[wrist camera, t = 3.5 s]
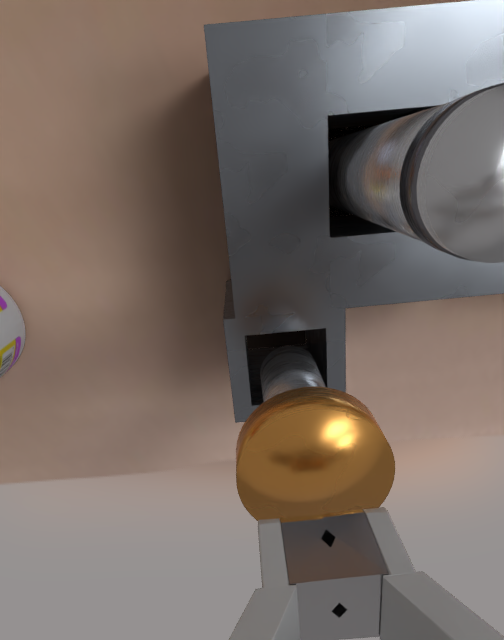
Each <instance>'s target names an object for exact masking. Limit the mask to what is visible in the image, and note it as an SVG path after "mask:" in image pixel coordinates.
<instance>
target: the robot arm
mask: <svg viewBox="0 0 504 640" xmlns="http://www.w3.org/2000/svg"><path fill="white" fill-rule="evenodd" d="M258 534H259V548H260V562H261V575H262V588H260V589H256V590H255V591H254V593H253V595H252V597H251V599H250V601H249V603H248V605H247V607H246V608H245V610H244V612H243V614H242V616H241V618H240V620H239V622H238V623H237V625H236V627H235V629H234V631H233V633H232V635H231V637H230V638H229V640H339V639H352V638H365V637H378V636H380V639H381V640H504V636H503V635H501V634H500V633H499V632H498V631H496V630H495V629H494V628H493V627H491V626H490V625H489V624H488V623H486V622H485V621H484V620H483V619H481V618H480V617H479V616H478V615H476V614H475V613H474V612H473V611H471V610H470V609H469V608H468V607H466V606H465V605H464V604H463V603H461V602H460V601H459V600H458V599H456V598H455V597H454V596H453V595H452V594H450V593H449V592H448V591H447V590H445V589H444V588H443V587H442V586H440V585H439V584H438V583H437V582H435V581H434V580H433V579H432V578H430V577H429V576H428V575H427V574H425V573H424V572H416V571H415V569H414V567H413V564H412V562H411V560H410V558H409V556H408V554H407V552H406V549H405V547H404V545H403V543H402V541H401V539H400V537H399V534H398V533H397V530H396V528H395V526H394V524H393V522H392V520H391V517H390V515H389V513H388V511H387V510H386V509H385V508H384V507H381V508H372V509H363V510H352V511H343V512H335V513H326V514H321V515H310V516H297V517H284V518H280V519H279V518H275V519H263V520H258Z"/></svg>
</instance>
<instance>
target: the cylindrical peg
mask: <svg viewBox="0 0 504 640" xmlns="http://www.w3.org/2000/svg"><path fill="white" fill-rule="evenodd" d="M328 168H329V206H332V207H334V208H337V209H339V210H342V211H344V212H347V213H350V214H352V215H355V216H357V217H360V218H363V219H365V220H368V221H370V222H373V223H376V224H378V225H381V226H383V227H386V228H389V229H391V230H394V231H396V232H399V233H401V234H404V235H407V236H409V237H412V238H414V239H417V240H420V241H422V242H425V243H426V244H428V245H429V246H431V247H432V248H435V249H437V250H440V251H442V252H444V253H447V254H450V255H452V256H455V257H457V258H460V259H464V260H469V261H476V262H483V263H501V262H504V83H500V84H496V85H493V86H490V87H487V88H483V89H480V90H477V91H474V92H471V93H468V94H465V95H463V96H461V97H458V98H456V99H454V100H452V101H451V102H448V103H445V104H442V105H439V106H436V107H433V108H430V109H426V110H423V111H420V112H417V113H414V114H411V115H408V116H404V117H401V118H398V119H395V120H392V121H389V122H385V123H382V124H379V125H376V126H373V127H370V128H367V129H363V130H360V131H357V132H354V133H351V134H348V135H345V136H341V137H338V138H335V139H333V140H331V141H329V142H328Z"/></svg>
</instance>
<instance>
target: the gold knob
mask: <svg viewBox="0 0 504 640" xmlns="http://www.w3.org/2000/svg"><path fill="white" fill-rule="evenodd" d="M260 377H261V385H262V394H263V403H262V404H261V405H260V406H259V407H257V408H256V409H255V410H254V411H253V412H252V413H251V415H250V416H249V417H248V418H247V420H246V421H245V423H244V425H243V426H242V429H241V431H240V433H239V437H238V440H237V448H236V463H237V464H236V472H237V473H236V478H237V489H238V494H239V496H240V499H241V501H242V503H243V505H244V507H245V508H246V509H247V511H248V512H249V513H250V514H251V515H252V516H253V517H254V518H255V519H256V520H257V521H258V520H263V519H275V518H279V519H280V518H284V517H297V516H310V515H321V514H326V513H335V512H343V511H352V510H363V509H372V508H379V507H380V505H381V504H382V503H383V502H384V500H385V499H386V497H387V496H388V494H389V491H390V489H391V487H392V484H393V480H394V475H395V461H394V456H393V452H392V450H391V447H390V446H389V443H388V442H387V440H386V438H385V436H384V434H383V433H382V431H381V429H380V427H379V425H378V424H377V422H376V420H375V418H374V417H373V415H372V413H371V412H370V411H369V410H368V408H367V407H366V406H365V405H364V404H363V403H361V402H360V401H359V400H358V399H356V398H355V397H353V396H351V395H349V394H347V393H345V392H342V391H339V390H336V389H332V388H327V387H325V384H324V382H323V379H322V377H321V375H320V372H319V370H318V367H317V365H316V362H315V360H314V358H313V357H312V355H311V354H310V353H309V352H308V351H306V350H304V349H302V348H300V347H296V346H283V347H280V348H277V349H275V350H273V351H272V352H270V353H269V354H268V355H267V356H266V357H265V359H264V360H263V362H262V365H261V369H260Z"/></svg>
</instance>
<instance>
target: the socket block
mask: <svg viewBox="0 0 504 640" xmlns="http://www.w3.org/2000/svg"><path fill="white" fill-rule="evenodd" d="M204 31H205V40H206V50H207V59H208V68H209V78H210V87H211V96H212V105H213V115H214V124H215V133H216V143H217V152H218V161H219V170H220V180H221V189H222V198H223V208H224V217H225V226H226V235H227V245H228V254H229V263H230V272H231V281H227V283H226V294H225V305H224V316H223V322H224V330H225V339H226V347H227V355H228V364H229V372H230V380H231V389H232V397H233V406H234V414H235V422H236V423H237V422H245V421H246V420H247V418H248V417H249V416H250V415H251V413H252V412H253V411H254V410H255V409H256V408H257V407H259V406H260V405H261V404H262V403H263V394H262V385H261V377H260V369H261V365H262V362H263V360H264V359H265V357H266V356H267V355H268V354H269V353H270V352H272V351H273V350H275V349H277V348H280V347H283V346H274V347H263V348H252V349H248V344H247V335H258V334H269V333H280V332H290V331H301V330H305V338H306V344H295V345H284V346H296V347H300V348H302V349H304V350H306V351H308V352H309V353H310V354H311V355H312V357H313V358H314V360H315V362H316V365H317V367H318V370H319V372H320V375H321V377H322V379H323V382H324V384H325V387H327V388H332V389H336V390H339V391H342V392H345V393H346V357H345V308H353V307H363V306H374V305H385V304H395V303H406V302H417V301H428V300H438V299H449V298H460V297H470V296H481V295H492V294H503V293H504V262H501V263H483V262H476V261H469V260H464V259H460V258H457V257H455V256H452V255H450V254H447V253H444V252H442V251H440V250H437V249H435V248H432V247H431V246H429V245H428V244H426V243H425V242H422V241H420V240H417V239H414V238H412V237H409V236H407V235H404V234H401V233H399V232H396V231H394V230H391V229H389V228H386V227H383V226H381V225H378V224H376V223H373V222H370V221H368V220H365V219H363V218H360V217H357V216H355V215H349V216H338V217H329V168H328V129H331V128H342V127H353V126H364V125H375V124H382V123H385V122H389V121H392V120H395V119H398V118H401V117H404V116H408V115H411V114H414V113H417V112H420V111H423V110H426V109H430V108H433V107H436V106H439V105H442V104H445V103H448V102H451V101H452V100H454V99H456V98H458V97H461V96H463V95H465V94H468V93H471V92H474V91H477V90H480V89H483V88H487V87H490V86H493V85H496V84H500V83H504V0H473V1H462V2H450V3H439V4H428V5H417V6H406V7H395V8H384V9H373V10H362V11H351V12H340V13H329V14H318V15H307V16H296V17H285V18H274V19H263V20H252V21H241V22H230V23H219V24H207V25H204Z"/></svg>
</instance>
